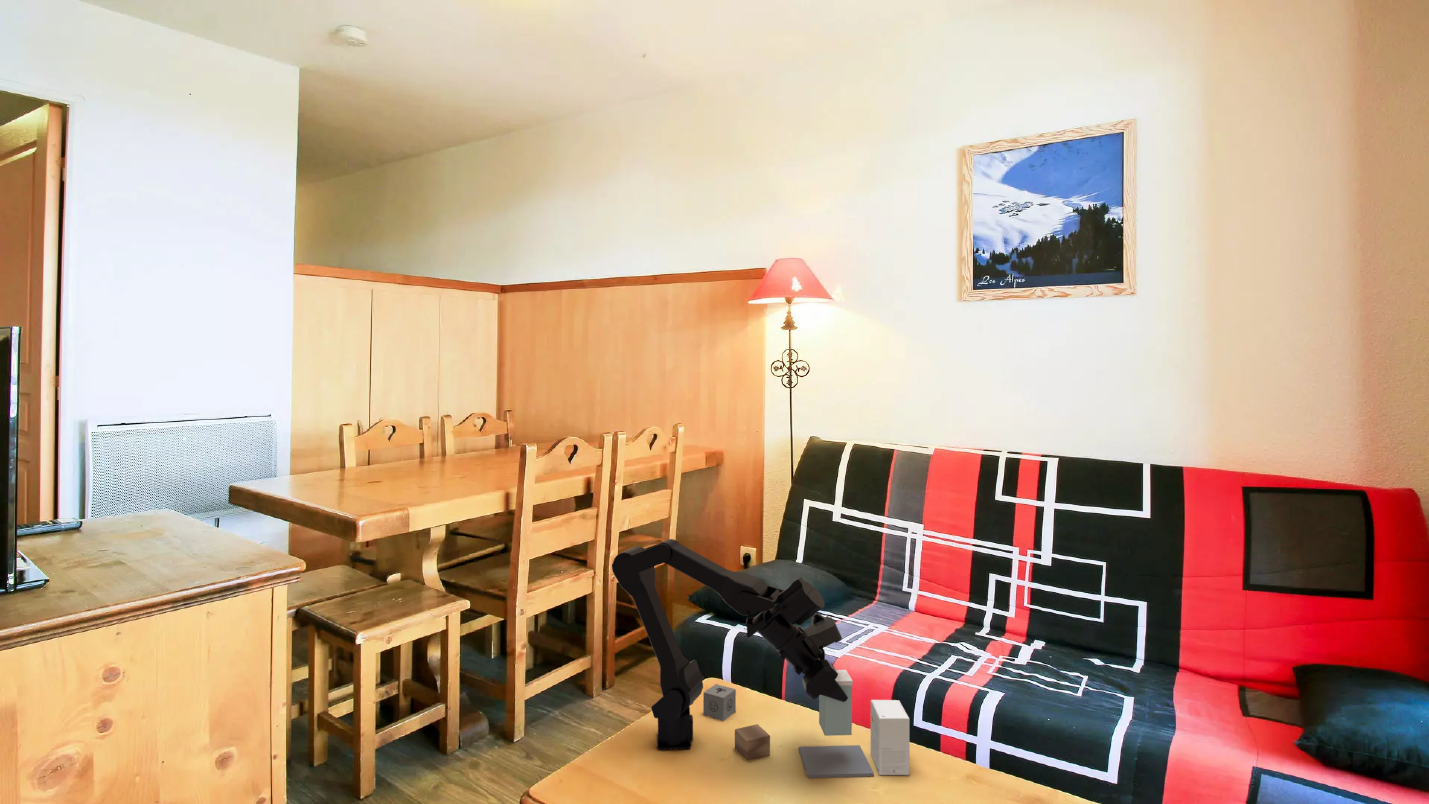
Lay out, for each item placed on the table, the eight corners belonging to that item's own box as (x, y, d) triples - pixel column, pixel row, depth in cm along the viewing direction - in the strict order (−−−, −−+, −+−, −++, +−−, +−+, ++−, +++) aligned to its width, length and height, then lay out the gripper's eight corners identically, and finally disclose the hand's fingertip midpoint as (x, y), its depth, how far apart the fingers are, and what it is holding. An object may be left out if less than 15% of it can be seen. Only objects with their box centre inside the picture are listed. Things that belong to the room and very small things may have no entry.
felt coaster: (807, 778, 129) (807, 774, 129) (798, 749, 139) (798, 746, 139) (873, 776, 130) (873, 773, 130) (859, 748, 140) (859, 745, 140)
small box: (909, 776, 130) (910, 718, 130) (878, 776, 130) (879, 718, 130) (899, 753, 138) (899, 699, 138) (869, 753, 138) (870, 698, 138)
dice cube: (735, 712, 155) (735, 689, 155) (723, 721, 151) (723, 697, 150) (715, 706, 157) (715, 683, 157) (703, 715, 153) (703, 692, 153)
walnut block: (746, 762, 135) (746, 741, 135) (734, 749, 139) (734, 729, 139) (769, 756, 137) (770, 735, 137) (757, 744, 141) (757, 724, 141)
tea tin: (824, 736, 132) (824, 681, 132) (818, 722, 137) (818, 670, 137) (852, 735, 132) (852, 680, 132) (845, 722, 138) (845, 669, 137)
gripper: (826, 622, 125) (888, 683, 126) (805, 591, 143) (859, 644, 144) (780, 668, 124) (843, 729, 125) (765, 631, 143) (820, 684, 144)
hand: (842, 693), depth 135 cm, fingers closed on tea tin, 5 cm apart
